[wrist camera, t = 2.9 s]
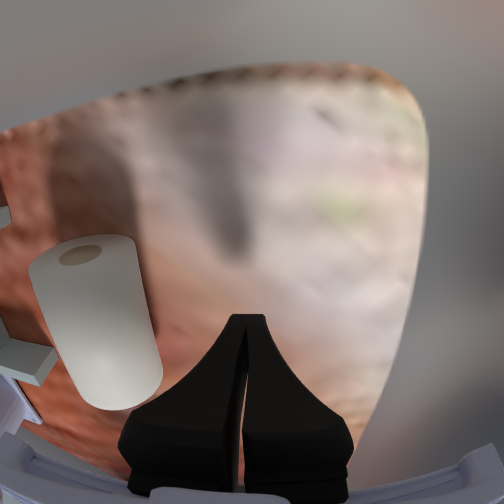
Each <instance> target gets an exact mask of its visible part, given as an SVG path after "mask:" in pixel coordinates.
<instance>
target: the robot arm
mask: <svg viewBox="0 0 504 504" xmlns="http://www.w3.org/2000/svg"><path fill="white" fill-rule="evenodd" d="M247 375H248V380H247ZM246 382H247V392H246V401H245V410H244V418H243V426H242V438H243V449H244V460H245V471H244V483H245V490H246V493H238V464H239V440H240V422H241V413H242V407H243V401H244V394H245V388H246ZM23 419H27V420H29V421H32V422H34V423H37V424H40V425H41V424H42V422H43V421H42V420H41V418H40V417H39V415H38V414H37V413H36V411H35V410H34V408H33V407H32V406H31V404H30V403H29V401H28V400H27V398H26V397H25V395H24V394H23V392H22V390H21V389H20V387H19V386H18V384H17V382H16V381H15V379H14V378H11V377H9V376H6V375H3V374H0V504H2V503H3V495H2V491H1V489H2V490H3V491H4V492H6V493H7V494H8V495H10V496H11V497H12V498H14V499H15V500H16V501H18V502H20V503H21V504H496V503H497V502H498V501H500V500H501V499H502V498H504V467H503V465H502V463H501V461H500V458H499V456H498V454H497V451H496V449H495V447H494V445H493V444H488V445H486V446H484V447H481V448H479V449H476V450H474V451H472V452H470V453H468V454H467V455H465V456H464V457H463V458H462V459H461V460H460V462H459V463H458V464H456V465H454V466H451V467H448V468H445V469H442V470H439V471H436V472H433V473H429V474H426V475H423V476H419V477H416V478H412V479H408V480H404V481H400V482H396V483H392V484H387V485H382V486H378V487H373V488H367V489H362V490H355V491H349V492H348V488H347V483H346V478H347V476H348V473H347V467H346V465H347V463H348V461H349V460H350V458H351V456H352V454H353V450H354V445H353V440H352V437H351V434H350V432H349V430H348V427H347V425H346V423H345V421H344V419H343V418H342V417H341V416H339V415H338V414H336V413H335V412H334V411H332V410H331V409H329V408H328V407H327V406H326V405H324V404H323V403H322V402H321V401H320V400H319V399H317V398H316V397H315V396H314V395H313V394H312V393H311V392H310V391H309V390H308V389H307V388H306V387H305V386H304V385H303V384H302V383H301V381H300V380H299V379H298V378H297V377H296V375H295V374H294V373H293V372H292V370H291V369H290V368H289V366H288V365H287V363H286V362H285V360H284V359H283V357H282V355H281V354H280V352H279V350H278V348H277V347H276V345H275V343H274V341H273V339H272V336H271V334H270V332H269V329H268V326H267V323H266V319H265V316H264V315H263V314H232V315H231V316H230V317H229V320H228V322H227V324H226V325H225V327H224V329H223V330H222V332H221V334H220V335H219V337H218V338H217V340H216V341H215V343H214V344H213V345H212V347H211V348H210V349H209V351H208V352H207V353H206V354H205V356H204V357H203V358H202V359H201V360H200V362H199V363H198V364H197V365H196V366H195V367H194V368H193V369H192V370H191V371H190V372H189V373H188V374H187V375H186V376H185V377H183V378H182V379H181V380H180V381H179V382H178V383H177V384H175V385H174V386H173V387H171V388H170V389H169V390H167V391H166V392H164V393H163V394H161V395H160V396H159V397H157V398H156V399H154V400H152V401H150V402H149V403H147V404H145V405H143V406H141V407H139V408H137V409H135V410H133V411H132V412H131V414H130V416H129V418H128V419H127V421H126V423H125V425H124V427H123V430H122V433H121V436H120V438H119V441H118V449H119V451H120V453H121V455H122V456H123V457H124V459H125V460H126V462H127V463H128V464H129V466H130V467H131V468H132V471H131V474H130V478H129V481H128V482H124V481H120V480H116V479H112V478H108V477H105V476H102V475H98V474H94V473H91V472H88V471H85V470H82V469H79V468H76V467H73V466H70V465H67V464H64V463H62V462H59V461H57V460H54V459H51V458H49V457H46V456H44V455H41V454H39V453H36V452H35V451H34V449H33V448H32V447H31V446H30V445H29V444H28V443H27V442H26V441H24V440H23V439H21V438H19V437H17V436H15V433H16V431H17V429H18V427H19V426H20V424H21V422H22V421H23Z"/></svg>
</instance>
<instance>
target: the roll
mask: <svg viewBox="0 0 504 504" xmlns="http://www.w3.org/2000/svg"><path fill="white" fill-rule="evenodd" d="M28 272H29V277H30V280H31V283H32V286H33V289H34V292H35V294H36V297H37V300H38V303H39V306H40V308H41V311H42V313H43V316H44V319H45V321H46V324H47V326H48V328H49V331H50V333H51V336H52V338H53V340H54V342H55V345H56V347H57V349H58V351H59V353H60V356H61V358H62V360H63V362H64V364H65V366H66V368H67V370H68V372H69V374H70V376H71V378H72V380H73V382H74V384H75V386H76V387H77V389H78V391H79V393H80V395H81V396H82V398H83V399H84V400H85V401H86V402H88V403H89V404H91V405H93V406H95V407H97V408H100V409H105V410H122V409H127V408H130V407H133V406H136V405H138V404H140V403H142V402H143V401H145V400H146V399H148V398H149V397H150V396H151V395H152V394H153V393H154V392H155V391H156V390H157V388H158V387H159V385H160V383H161V381H162V377H163V367H162V363H161V359H160V356H159V352H158V348H157V344H156V340H155V336H154V332H153V328H152V324H151V320H150V316H149V311H148V307H147V302H146V298H145V293H144V288H143V283H142V278H141V273H140V268H139V263H138V257H137V252H136V246H135V242H134V241H133V240H132V239H131V238H129V237H126V236H123V235H118V234H101V235H90V236H84V237H80V238H76V239H72V240H69V241H66V242H63V243H61V244H58V245H56V246H54V247H52V248H50V249H48V250H47V251H45V252H43V253H42V254H41V255H39V256H38V257H37V258H36V259H35V260H34V261H33V262H32V263H31V265H30V267H29V270H28Z"/></svg>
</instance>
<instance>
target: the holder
mask: <svg viewBox="0 0 504 504" xmlns="http://www.w3.org/2000/svg"><path fill="white" fill-rule="evenodd" d="M11 222H12V221H11V217H10V212H9V207H8V206H3V207H0V229H1V228H3V227H4V226H6V225H8V224H10V223H11ZM58 359H59V357H58V355H57V353H56V351H55V348H54V347H50V346H45V345H40V344H35V343H30V342H26V341H21V340H17V339H12V338H10V337H9V334H8V332H7V330H6V328H5V326H4V324H3V321H2V319H1V317H0V374H3V375H6V376H9V377H11V378H14V379H17V380H20V381H24V382H27V383H30V384H33V385H36V386H41V385H42V383H43V382H44V380H45V378H46V377H47V375H48V374H49V372H50V371H51V369H52V368H53V366H54V365H55V363H56V362H57V360H58Z"/></svg>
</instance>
